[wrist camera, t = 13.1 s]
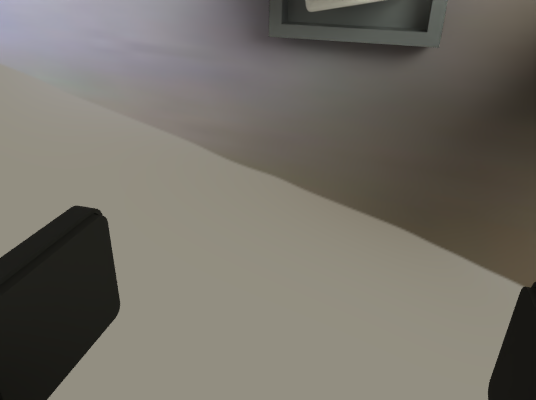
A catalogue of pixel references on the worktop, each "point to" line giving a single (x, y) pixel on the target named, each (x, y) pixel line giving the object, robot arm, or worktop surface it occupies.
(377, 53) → the worktop surface
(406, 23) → the tray
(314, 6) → the medicine bottle
